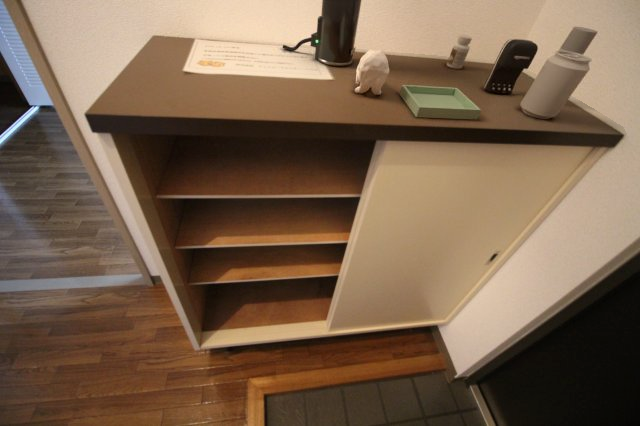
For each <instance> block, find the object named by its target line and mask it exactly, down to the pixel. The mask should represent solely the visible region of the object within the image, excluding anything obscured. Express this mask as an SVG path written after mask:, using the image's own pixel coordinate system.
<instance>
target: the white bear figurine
mask: <svg viewBox="0 0 640 426" xmlns="http://www.w3.org/2000/svg"><path fill="white" fill-rule="evenodd" d="M389 67H390V66H389V60H388V58H387V56H386V54H385V53H384V52H383V51H381V50H380V49H377V50H375V49H369V50H368V51H367V52H365V54H363V55H362V56H361V57H360V60H359V63H358V65H357V67H356V69H355V85H358V84H359V86H357V87H355V88H354V92H355V93H357V94H363V93H364V94H365V93H366V92H367V91H369V90H371V93H372V94H373V95H375V96H379V95H381V94H382V90H381V89H382V87H383V86H384V84H385V83H386V81H387V79H388V76H389V74H390V68H389ZM370 88H371V89H370Z"/></svg>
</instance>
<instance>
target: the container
mask: <svg viewBox="0 0 640 426" xmlns="http://www.w3.org/2000/svg"><path fill="white" fill-rule="evenodd" d="M597 34H598V31H597V30H595V29H591V28H587V27H582V26H573V27H572V29H571V31H570V32H569V34H568V35H567V37H566V38H565V40H564V41H563V43H562V44H561V46H560V47H559V49H558V51H560V50H561V51H569V52H574V53H578V54H582V55H584V54H585V53H586V51H587V50H588V48H589V47H590V45H591V43H592V42H593V40H594V39H595V37H596V35H597Z"/></svg>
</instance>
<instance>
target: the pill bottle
mask: <svg viewBox="0 0 640 426" xmlns="http://www.w3.org/2000/svg"><path fill="white" fill-rule="evenodd" d="M472 40H473V37H472V36H469V35H466V34H460V35H458V37H457V41H456V42H457V43H454V44H453V46H452V49H451V52H450V54H449V56H448V59H447V61H446V66H447V67H449V68H450V69H454V70H459V69H460V70H461V69H462V68H463V66H464V64H465V61H466V58H467V56H468V54H469V51H470V46H469V45H470V44H471V42H472Z"/></svg>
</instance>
